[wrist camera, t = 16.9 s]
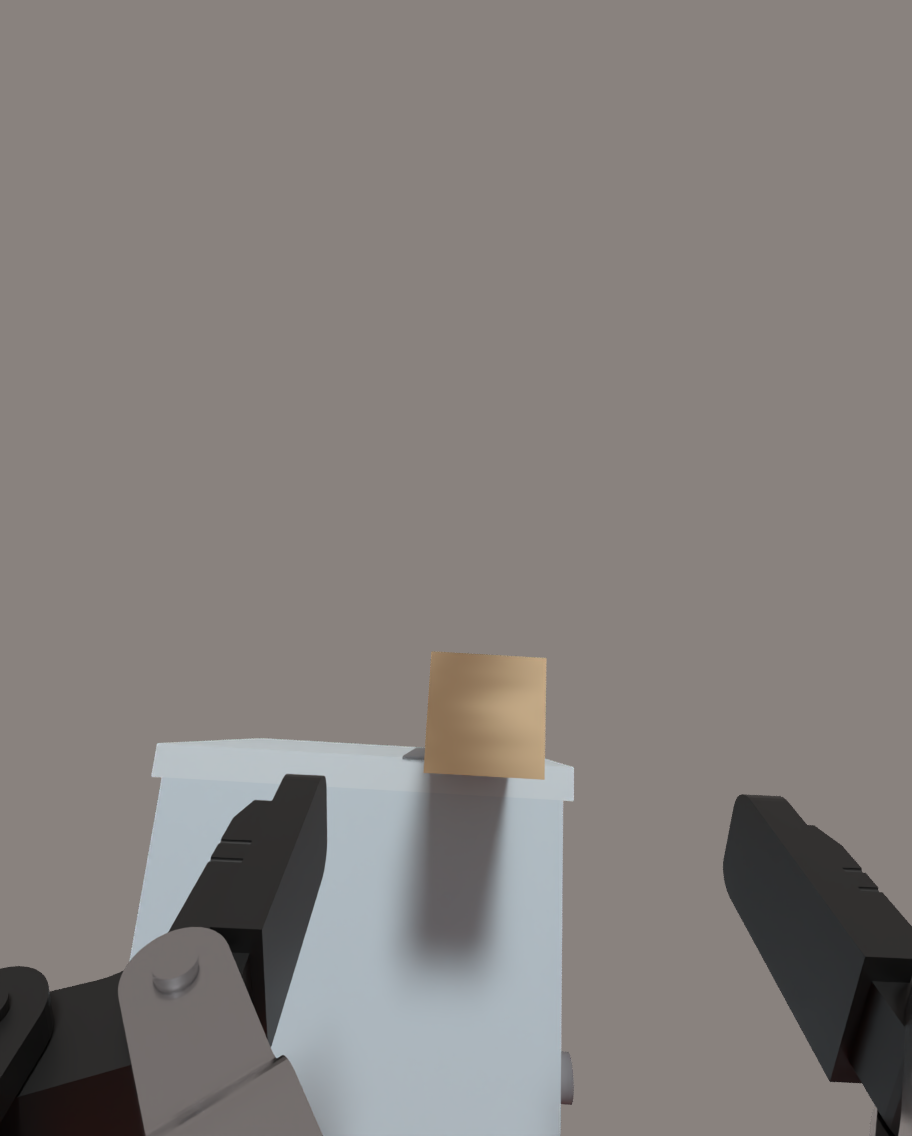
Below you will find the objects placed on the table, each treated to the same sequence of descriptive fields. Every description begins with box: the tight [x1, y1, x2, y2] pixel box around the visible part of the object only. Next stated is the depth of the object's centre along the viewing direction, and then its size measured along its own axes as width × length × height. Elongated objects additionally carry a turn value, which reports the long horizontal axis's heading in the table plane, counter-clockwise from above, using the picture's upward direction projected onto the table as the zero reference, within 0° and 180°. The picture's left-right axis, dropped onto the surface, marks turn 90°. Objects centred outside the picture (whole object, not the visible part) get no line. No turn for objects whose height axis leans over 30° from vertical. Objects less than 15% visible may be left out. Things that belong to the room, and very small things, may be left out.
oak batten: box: [423, 652, 546, 780], centre depth 26 cm, size 3×22×3 cm, turn 1°
